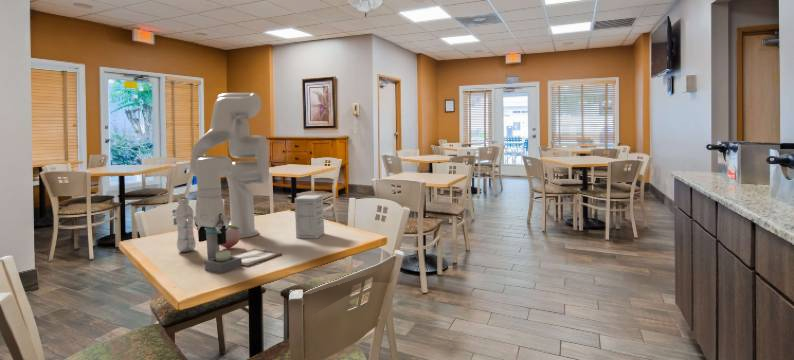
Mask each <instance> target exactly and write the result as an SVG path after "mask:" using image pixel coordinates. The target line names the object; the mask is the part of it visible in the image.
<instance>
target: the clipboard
mask: <svg viewBox="0 0 794 360" xmlns="http://www.w3.org/2000/svg"><path fill="white" fill-rule="evenodd" d="M282 254H283V253H281V252H275V251H273V250H270V249H264V248H261V249H257V248H252V249H250V250H246V251H243V252H238V253H236V254H233V255H232V256H233V257H238V258H241V260H242V268H243V267H245V268H249V267H251V266H255V265H259V264H261V263H263V262H266V261H269V260H272V259H275V258H277V257H281V256H282Z"/></svg>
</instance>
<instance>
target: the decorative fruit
mask: <svg viewBox="0 0 794 360" xmlns="http://www.w3.org/2000/svg"><path fill="white" fill-rule="evenodd" d="M220 229H221V227H220ZM238 229H240V228H239V227H238V226H236V225H229V226H228V229H227V232H226V243H225V244H221V245H220V247H223V248H225V249H227V250H228V249H231V248H232V247H234V246H236V245H237V244H238V243H239V242H240V239H241V238H240V232H239V230H238Z"/></svg>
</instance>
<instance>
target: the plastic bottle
mask: <svg viewBox="0 0 794 360" xmlns="http://www.w3.org/2000/svg"><path fill="white" fill-rule="evenodd" d="M177 204H178V206H177V207H176V209H175V212H174V217H175V221H176V227H177V240H176V241H177V242H176V247H177V250H178V252H183V253H184V252H186V253H189V252H192V251H194V250H195V249H196V246H197V243H196V238H195V235H194V223H193V221H194V219H193V217H194V209H193V208H192V207H191V206H190V205H189V204H190V202H189V198H188V197H181V198H180V197H179V198H177Z"/></svg>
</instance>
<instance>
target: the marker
mask: <svg viewBox="0 0 794 360" xmlns="http://www.w3.org/2000/svg"><path fill="white" fill-rule="evenodd" d="M205 229H206V239H207V241H206V252H207V253H206V254H207V260H210V259H213V258H216V252H218V251H221V250H220V245H218V244H217V233H218V231H217V229H216V228H215V227H214V228H209V227H206V228H205Z"/></svg>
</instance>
